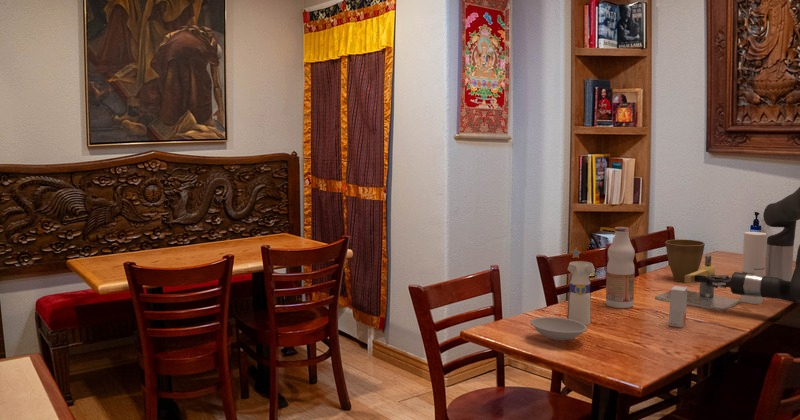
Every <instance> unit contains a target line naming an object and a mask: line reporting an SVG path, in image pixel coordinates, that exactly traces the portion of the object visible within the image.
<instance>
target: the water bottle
mask: <svg viewBox="0 0 800 420" xmlns="http://www.w3.org/2000/svg"><path fill="white" fill-rule="evenodd" d="M577 249H578V248H575V249H574V250H571V251H570V252H571V253H572V258H573V259H574V258H578V259H580V257H579V255H580V254H581V253H582V252H581V251H578V250H577ZM567 271H569V272H570V279H569V280H568V282H569V292H568V299H567V316H566V317H567V318H566V319H571V320H575V321H578V322H581V323H583V324H585V325H586V326H587V325H590V324H591V323H592V294H591V284H592V281H591V278H590V275H592V274H593V273H594V272H595V271H596V269H595V266H594V265H593V263H592V262H589V261H582V260H581V261H570V262H569V264H568V267H567Z"/></svg>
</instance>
